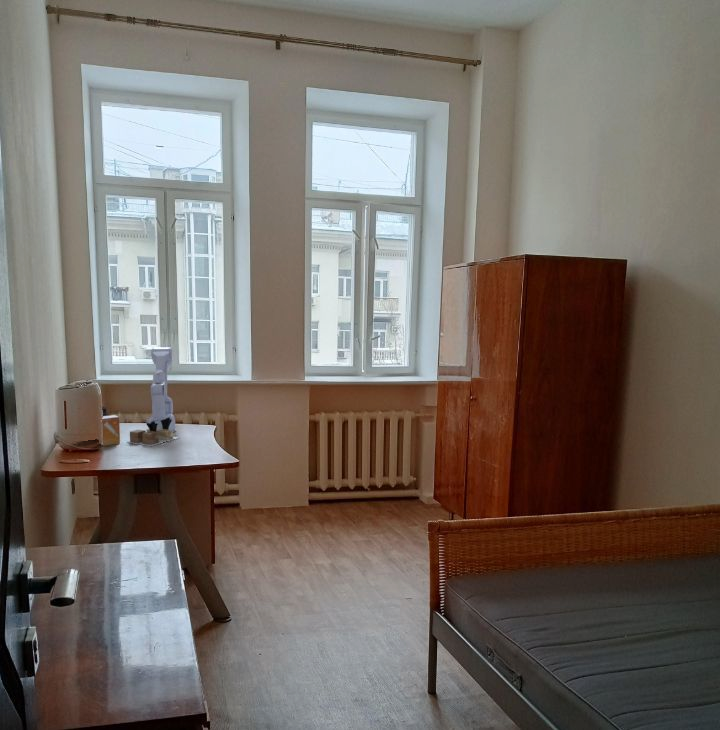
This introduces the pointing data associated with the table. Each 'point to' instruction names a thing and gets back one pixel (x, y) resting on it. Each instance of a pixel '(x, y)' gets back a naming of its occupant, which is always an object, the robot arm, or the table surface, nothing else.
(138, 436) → the cube
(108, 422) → the small box
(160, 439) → the mat
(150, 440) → the cube
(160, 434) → the lintel
